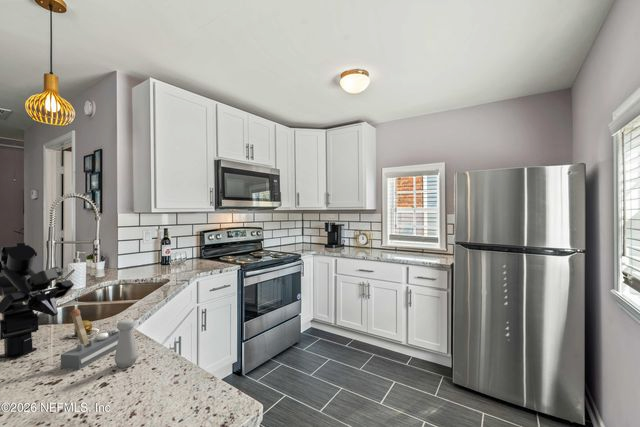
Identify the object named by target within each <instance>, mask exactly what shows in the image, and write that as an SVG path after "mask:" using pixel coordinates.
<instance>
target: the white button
mask: <svg viewBox="0 0 640 427" xmlns="http://www.w3.org/2000/svg"><path fill="white" fill-rule="evenodd" d="M95 338H96V340H104V339H107V338H108V333H107V332H99V333H98V334H96V335H95Z"/></svg>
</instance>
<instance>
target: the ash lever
mask: <svg viewBox="0 0 640 427" xmlns="http://www.w3.org/2000/svg"><path fill="white" fill-rule="evenodd" d="M69 314H70V316H71V318H72V321H73V324H74V329H75V328H76V331H77V334H78V336H77V338H78V337H79V338H78V340H79V344H84V345H87V344H89V338H88V337H89V336H88V335H87V334H86V331H85V328H84V325H83V321H84V320H83V319H82V316H81V310H80V309H78V308H75V309H72V310H71V311H70V313H69ZM87 336H88V337H87Z"/></svg>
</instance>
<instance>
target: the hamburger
mask: <svg viewBox="0 0 640 427" xmlns="http://www.w3.org/2000/svg"><path fill="white" fill-rule="evenodd" d="M82 321H83V325H84V328H85V331H86V334H87V336H88V337H90V336H93V335H95V334H97V333H98V332H99V331H100V329H99V328H93V324H92V321H90V320H82ZM94 330H95V331H94ZM93 331H94V333H92V332H93ZM74 335H75V337H77V339H79V337H78V334H77V331H76V328H75V327H74V328H73V332H72V333H70V334H69V335H68V338H71V339H73V336H74Z"/></svg>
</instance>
